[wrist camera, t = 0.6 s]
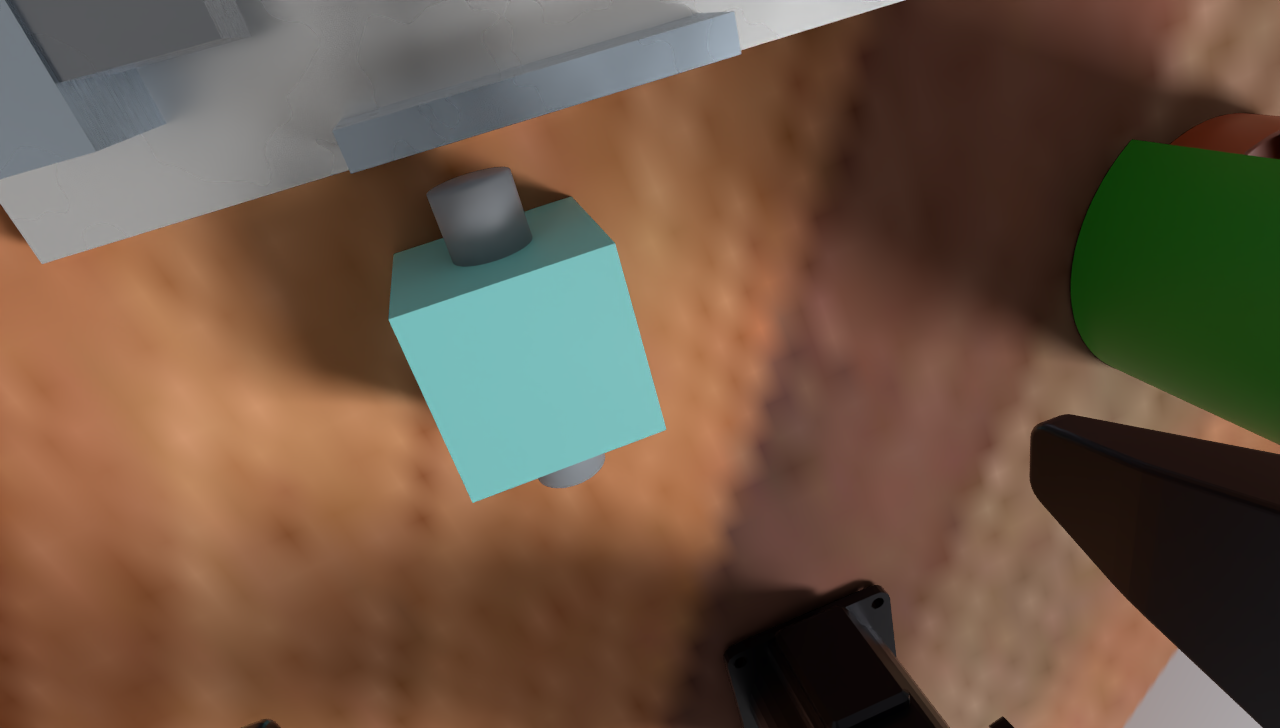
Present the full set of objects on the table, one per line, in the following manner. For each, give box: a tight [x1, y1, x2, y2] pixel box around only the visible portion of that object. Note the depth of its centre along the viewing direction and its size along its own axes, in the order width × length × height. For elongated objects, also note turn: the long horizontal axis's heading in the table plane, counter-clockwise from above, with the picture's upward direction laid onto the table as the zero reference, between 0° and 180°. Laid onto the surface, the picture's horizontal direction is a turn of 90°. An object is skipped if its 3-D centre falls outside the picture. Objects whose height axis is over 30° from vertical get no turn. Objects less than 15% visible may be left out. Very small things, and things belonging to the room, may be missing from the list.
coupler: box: [388, 167, 666, 503], centre depth 17 cm, size 4×8×4 cm, turn 15°
